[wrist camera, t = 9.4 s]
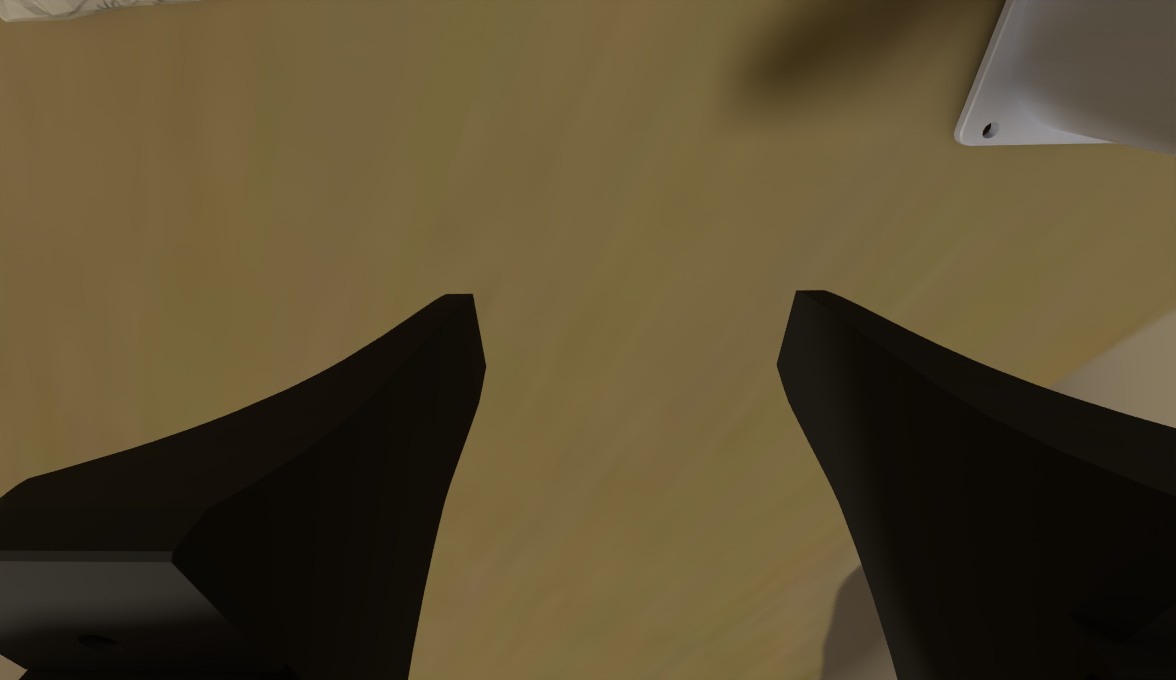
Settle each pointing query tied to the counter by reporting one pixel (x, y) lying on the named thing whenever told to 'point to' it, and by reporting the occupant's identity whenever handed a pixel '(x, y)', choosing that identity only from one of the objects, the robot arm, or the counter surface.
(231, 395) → the counter surface
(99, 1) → the packaged product
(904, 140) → the counter surface
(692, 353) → the counter surface
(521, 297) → the counter surface
